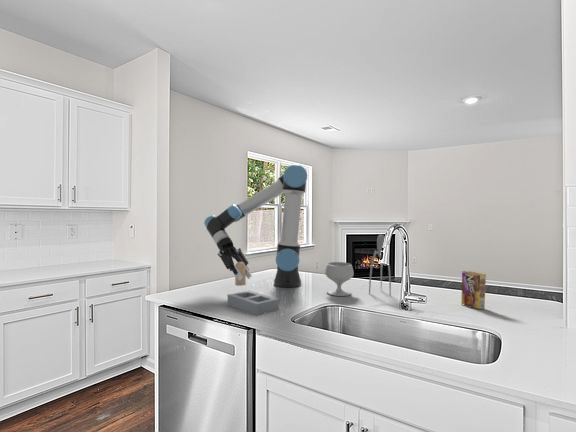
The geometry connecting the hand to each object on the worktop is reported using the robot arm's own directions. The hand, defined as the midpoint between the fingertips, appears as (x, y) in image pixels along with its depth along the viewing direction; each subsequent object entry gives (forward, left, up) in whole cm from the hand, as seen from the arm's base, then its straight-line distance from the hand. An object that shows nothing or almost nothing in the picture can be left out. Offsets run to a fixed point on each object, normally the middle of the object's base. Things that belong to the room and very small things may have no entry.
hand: (245, 278), depth 169 cm
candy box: (-65, +80, -9) cm, 103 cm away
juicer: (-55, +41, -9) cm, 69 cm away
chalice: (-39, +26, -9) cm, 48 cm away
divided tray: (+8, +16, -9) cm, 20 cm away
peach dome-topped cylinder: (0, -4, -4) cm, 5 cm away
